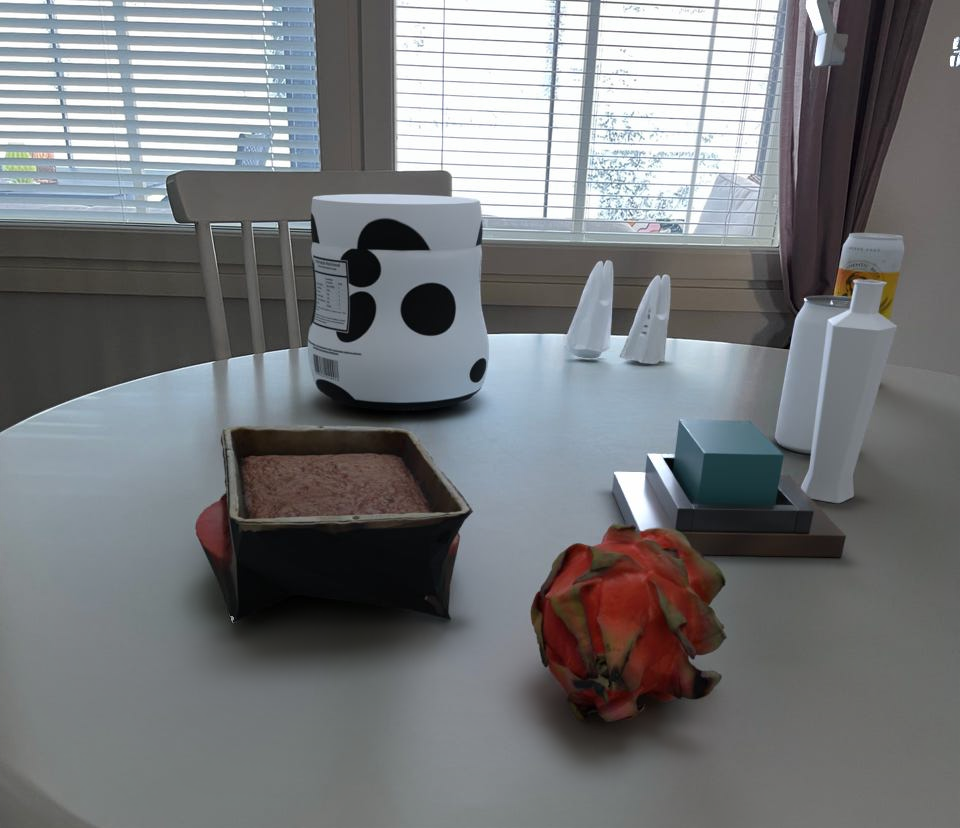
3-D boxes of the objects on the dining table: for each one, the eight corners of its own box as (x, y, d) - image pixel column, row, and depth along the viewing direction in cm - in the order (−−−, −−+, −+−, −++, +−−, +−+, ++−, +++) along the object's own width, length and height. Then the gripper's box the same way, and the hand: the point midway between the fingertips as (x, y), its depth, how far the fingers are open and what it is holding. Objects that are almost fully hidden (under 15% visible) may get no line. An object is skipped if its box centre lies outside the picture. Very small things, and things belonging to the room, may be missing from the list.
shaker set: (562, 362, 110) (568, 261, 105) (564, 354, 114) (570, 257, 108) (665, 367, 109) (677, 265, 103) (664, 360, 112) (675, 261, 107)
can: (769, 450, 80) (795, 302, 74) (777, 431, 85) (802, 292, 79) (849, 460, 78) (882, 309, 72) (852, 440, 83) (883, 298, 77)
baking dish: (444, 555, 63) (429, 404, 60) (493, 643, 46) (476, 440, 43) (226, 582, 61) (198, 427, 58) (197, 683, 45) (155, 474, 41)
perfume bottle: (864, 507, 68) (914, 287, 61) (801, 502, 68) (844, 284, 61) (853, 486, 72) (899, 279, 65) (794, 482, 72) (833, 276, 65)
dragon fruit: (658, 659, 50) (602, 816, 41) (537, 558, 49) (453, 696, 40) (775, 564, 45) (740, 721, 36) (640, 449, 44) (569, 580, 35)
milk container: (500, 385, 98) (506, 197, 90) (470, 429, 83) (473, 207, 75) (342, 376, 101) (333, 191, 92) (285, 416, 86) (268, 200, 77)
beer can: (810, 381, 104) (838, 234, 97) (827, 372, 108) (854, 231, 101) (866, 389, 101) (899, 239, 94) (881, 380, 105) (913, 235, 98)
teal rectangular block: (740, 482, 67) (750, 420, 65) (772, 522, 60) (784, 454, 58) (671, 481, 67) (679, 419, 65) (694, 521, 60) (704, 453, 58)
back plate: (785, 494, 70) (792, 455, 68) (841, 557, 59) (851, 512, 58) (612, 491, 70) (615, 451, 68) (637, 554, 59) (642, 509, 58)
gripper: (793, -216, 55) (758, 62, 61) (1139, -213, 55) (1068, 63, 61) (762, -184, 60) (734, 68, 67) (1077, -181, 60) (1018, 69, 67)
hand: (896, 66), depth 64 cm, fingers open, 8 cm apart
